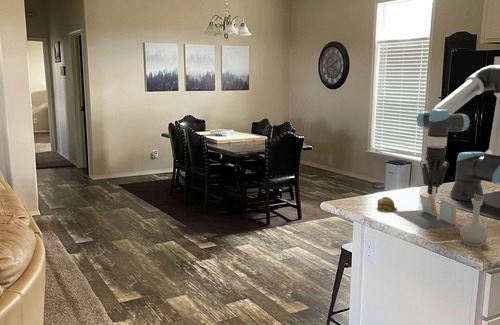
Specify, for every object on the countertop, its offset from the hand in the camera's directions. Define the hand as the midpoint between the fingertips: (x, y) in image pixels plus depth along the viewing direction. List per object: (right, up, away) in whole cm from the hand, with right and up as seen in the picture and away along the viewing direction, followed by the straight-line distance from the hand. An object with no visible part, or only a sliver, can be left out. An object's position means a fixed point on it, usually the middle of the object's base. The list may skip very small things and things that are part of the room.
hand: (431, 201), depth 198 cm
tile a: (0, -5, +1) cm, 5 cm away
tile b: (+3, -7, -9) cm, 12 cm away
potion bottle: (+2, -12, -33) cm, 35 cm away
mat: (-4, -7, -6) cm, 10 cm away
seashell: (-17, -5, +8) cm, 19 cm away
